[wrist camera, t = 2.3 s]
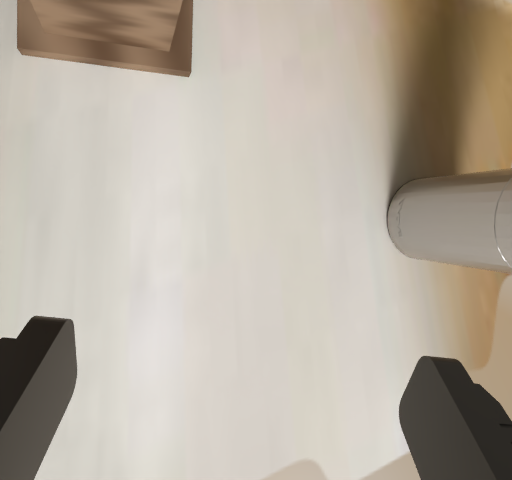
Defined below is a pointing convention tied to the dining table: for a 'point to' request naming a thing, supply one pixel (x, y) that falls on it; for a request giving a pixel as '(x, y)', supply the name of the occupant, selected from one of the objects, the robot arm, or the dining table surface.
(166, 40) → the wooden pedestal stand
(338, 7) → the dining table surface
